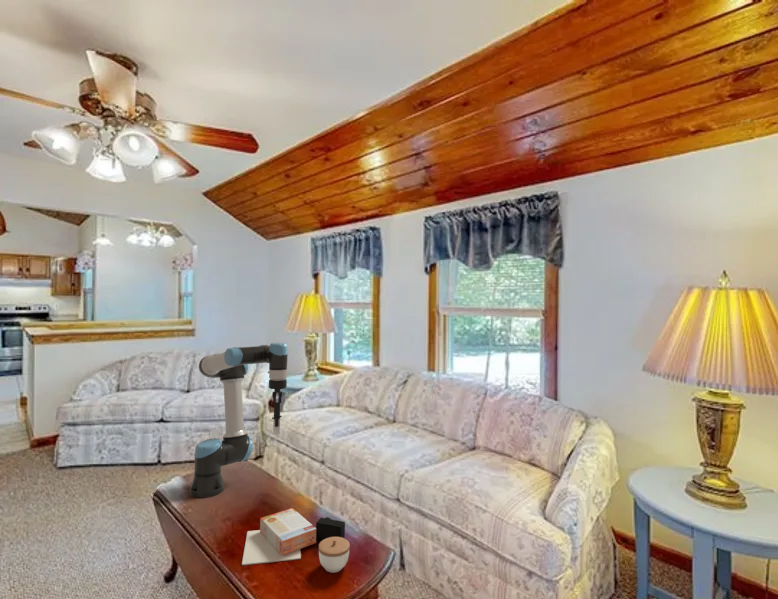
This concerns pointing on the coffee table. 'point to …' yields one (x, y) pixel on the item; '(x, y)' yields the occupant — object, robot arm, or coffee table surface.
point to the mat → (263, 550)
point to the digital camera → (329, 528)
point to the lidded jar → (334, 553)
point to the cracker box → (287, 531)
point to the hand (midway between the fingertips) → (276, 433)
